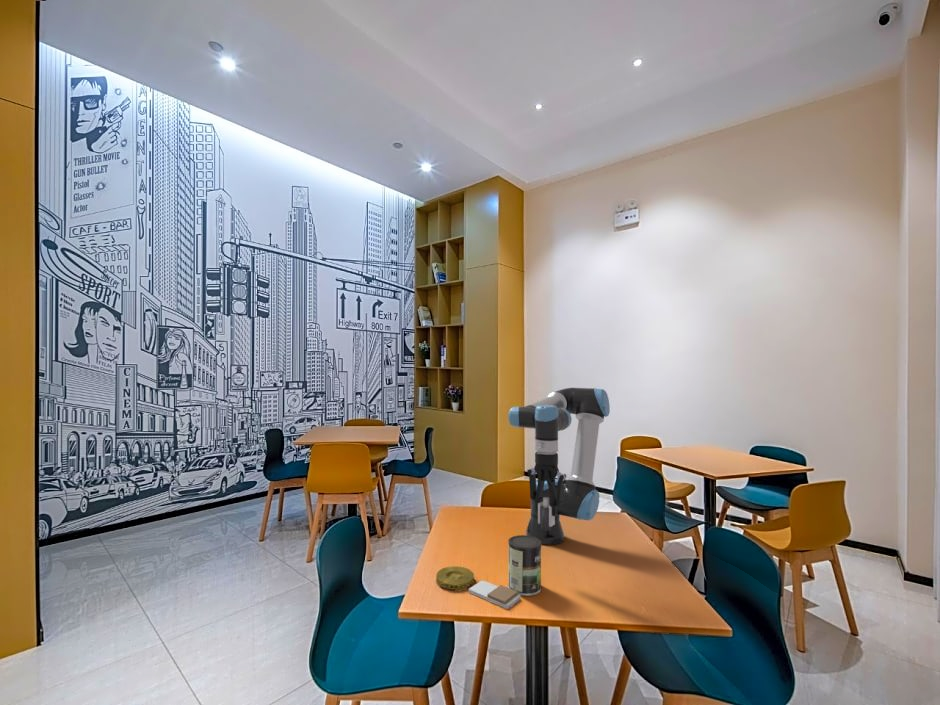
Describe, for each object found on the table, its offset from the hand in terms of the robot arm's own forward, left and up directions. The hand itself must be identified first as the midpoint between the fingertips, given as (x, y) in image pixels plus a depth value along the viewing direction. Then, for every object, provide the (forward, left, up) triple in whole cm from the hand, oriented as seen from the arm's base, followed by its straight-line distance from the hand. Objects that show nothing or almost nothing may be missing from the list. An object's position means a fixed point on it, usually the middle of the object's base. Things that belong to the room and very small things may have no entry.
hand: (546, 523), depth 135 cm
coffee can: (+10, -2, -17) cm, 20 cm away
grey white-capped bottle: (0, 0, -2) cm, 2 cm away
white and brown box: (+20, -6, -17) cm, 27 cm away
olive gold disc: (+21, -21, -18) cm, 35 cm away
